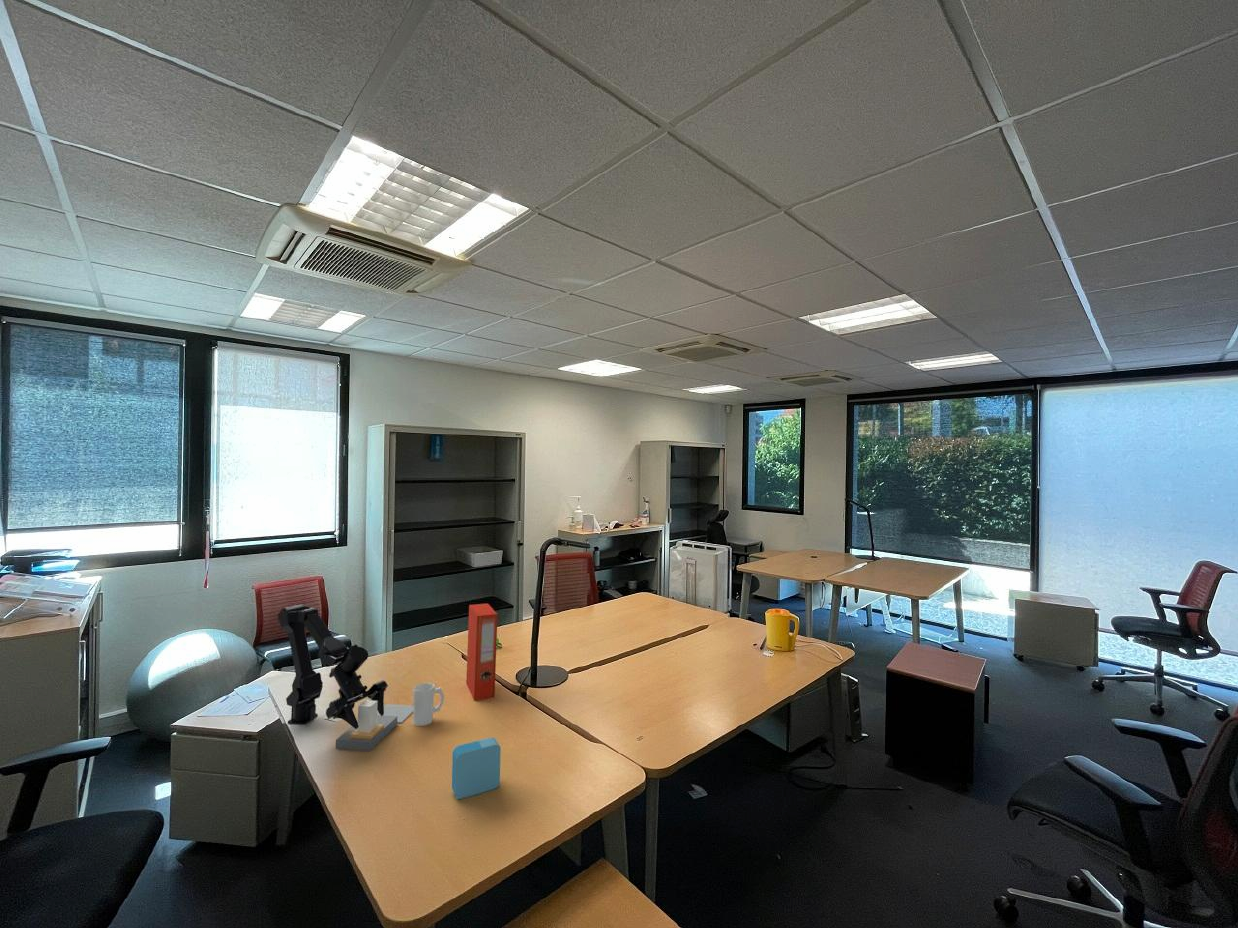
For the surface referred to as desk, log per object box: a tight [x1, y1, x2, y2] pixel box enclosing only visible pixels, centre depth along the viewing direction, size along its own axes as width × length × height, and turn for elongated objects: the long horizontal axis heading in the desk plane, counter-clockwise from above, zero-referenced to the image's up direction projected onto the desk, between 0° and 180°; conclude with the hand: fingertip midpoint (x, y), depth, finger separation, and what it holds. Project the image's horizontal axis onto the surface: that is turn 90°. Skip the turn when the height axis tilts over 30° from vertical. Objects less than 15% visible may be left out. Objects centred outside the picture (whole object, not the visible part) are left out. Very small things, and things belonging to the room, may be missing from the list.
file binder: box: [465, 603, 499, 701], centre depth 195 cm, size 8×17×32 cm, turn 27°
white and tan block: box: [350, 699, 384, 739], centre depth 155 cm, size 7×7×12 cm
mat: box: [377, 703, 413, 724], centre depth 173 cm, size 12×12×1 cm
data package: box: [451, 737, 502, 800], centre depth 133 cm, size 12×4×12 cm, turn 120°
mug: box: [412, 682, 445, 727], centre depth 169 cm, size 10×7×12 cm, turn 116°
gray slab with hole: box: [335, 715, 398, 752], centre depth 158 cm, size 11×16×3 cm
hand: (370, 721), depth 155 cm, fingers open, 9 cm apart
